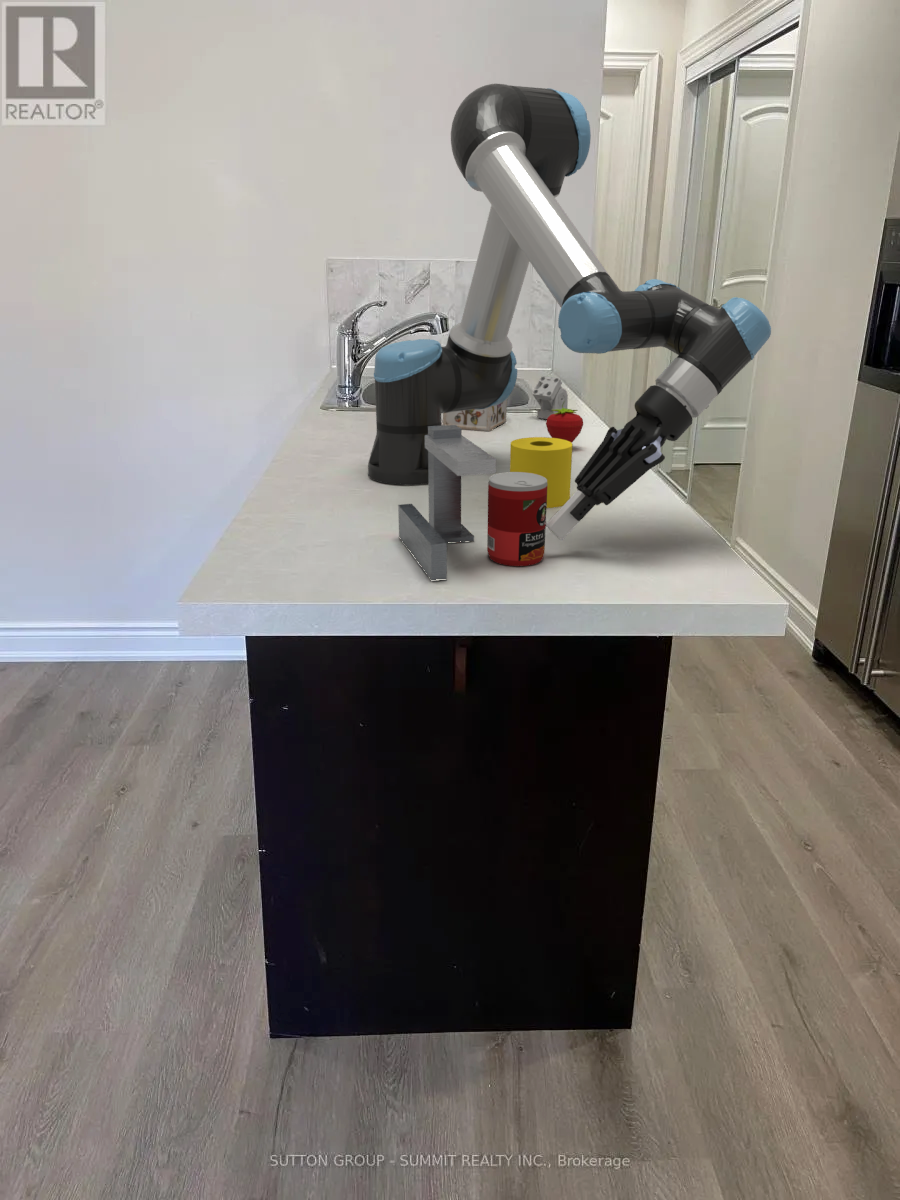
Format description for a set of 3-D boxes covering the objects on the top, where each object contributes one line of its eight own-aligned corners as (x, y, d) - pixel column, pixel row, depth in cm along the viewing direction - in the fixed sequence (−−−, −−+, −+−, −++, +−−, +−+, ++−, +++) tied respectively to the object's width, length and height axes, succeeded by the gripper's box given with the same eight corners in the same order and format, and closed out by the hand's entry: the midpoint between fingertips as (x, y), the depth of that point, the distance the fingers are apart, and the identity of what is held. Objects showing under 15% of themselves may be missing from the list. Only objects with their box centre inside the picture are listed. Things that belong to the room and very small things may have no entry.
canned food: (528, 571, 119) (531, 489, 114) (476, 560, 122) (477, 480, 118) (554, 554, 124) (558, 476, 120) (503, 544, 128) (505, 468, 124)
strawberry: (582, 453, 182) (585, 403, 178) (544, 452, 182) (546, 402, 179) (581, 447, 187) (584, 398, 183) (544, 446, 188) (546, 397, 184)
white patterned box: (441, 428, 205) (441, 346, 199) (460, 419, 215) (461, 340, 208) (490, 432, 201) (492, 348, 194) (508, 422, 211) (510, 343, 204)
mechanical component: (567, 418, 216) (569, 375, 212) (548, 423, 211) (550, 379, 207) (549, 415, 219) (551, 373, 215) (530, 420, 214) (531, 377, 210)
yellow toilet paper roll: (563, 510, 145) (566, 452, 141) (502, 505, 147) (504, 448, 144) (574, 494, 153) (577, 439, 150) (516, 489, 156) (518, 435, 153)
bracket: (462, 529, 135) (462, 422, 129) (506, 574, 117) (509, 452, 111) (396, 534, 133) (394, 425, 127) (431, 581, 115) (430, 457, 109)
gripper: (715, 429, 117) (590, 565, 119) (665, 412, 128) (552, 535, 130) (682, 390, 113) (554, 530, 115) (634, 375, 125) (518, 503, 127)
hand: (553, 532), depth 123 cm, fingers closed
